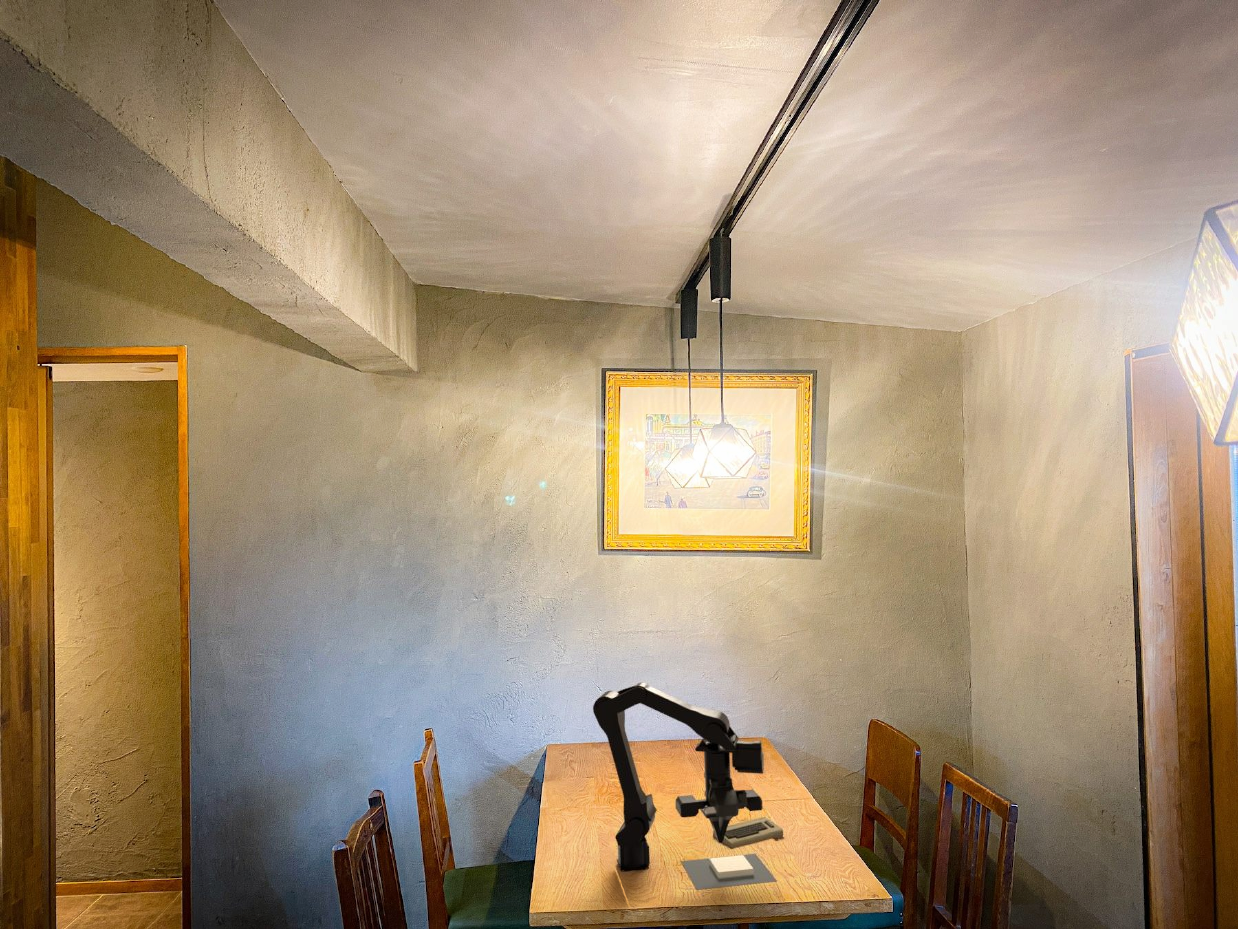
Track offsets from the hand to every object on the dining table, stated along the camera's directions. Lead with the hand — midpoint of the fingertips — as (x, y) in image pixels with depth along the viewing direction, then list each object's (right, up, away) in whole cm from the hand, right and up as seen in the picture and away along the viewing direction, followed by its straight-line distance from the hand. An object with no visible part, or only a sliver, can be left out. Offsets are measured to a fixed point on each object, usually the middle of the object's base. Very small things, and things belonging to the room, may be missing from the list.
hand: (720, 842), depth 174 cm
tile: (-1, -6, -1) cm, 6 cm away
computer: (+9, -9, +19) cm, 23 cm away
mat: (+2, -7, 0) cm, 7 cm away
